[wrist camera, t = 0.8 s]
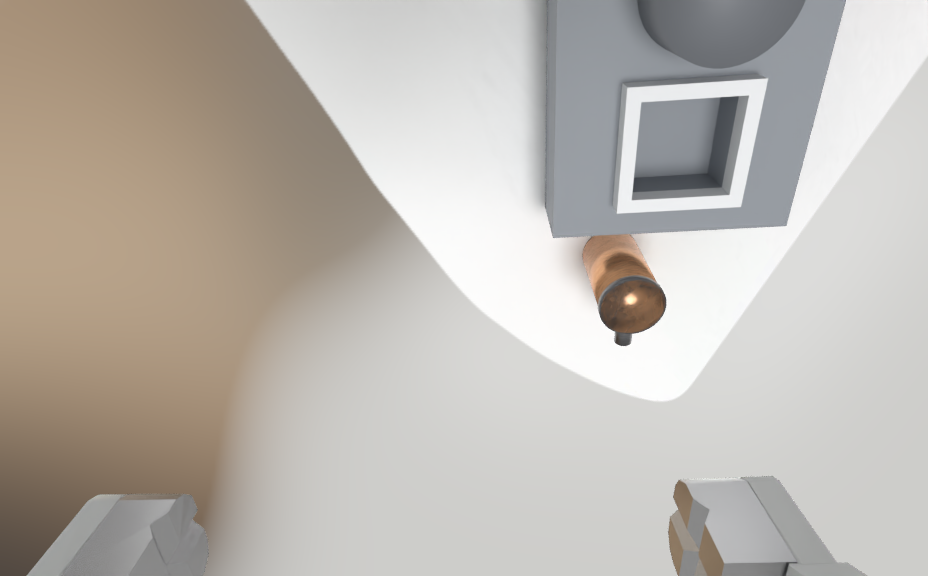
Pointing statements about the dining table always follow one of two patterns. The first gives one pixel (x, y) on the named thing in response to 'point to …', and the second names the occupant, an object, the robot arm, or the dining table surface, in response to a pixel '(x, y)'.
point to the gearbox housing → (680, 111)
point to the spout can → (623, 286)
